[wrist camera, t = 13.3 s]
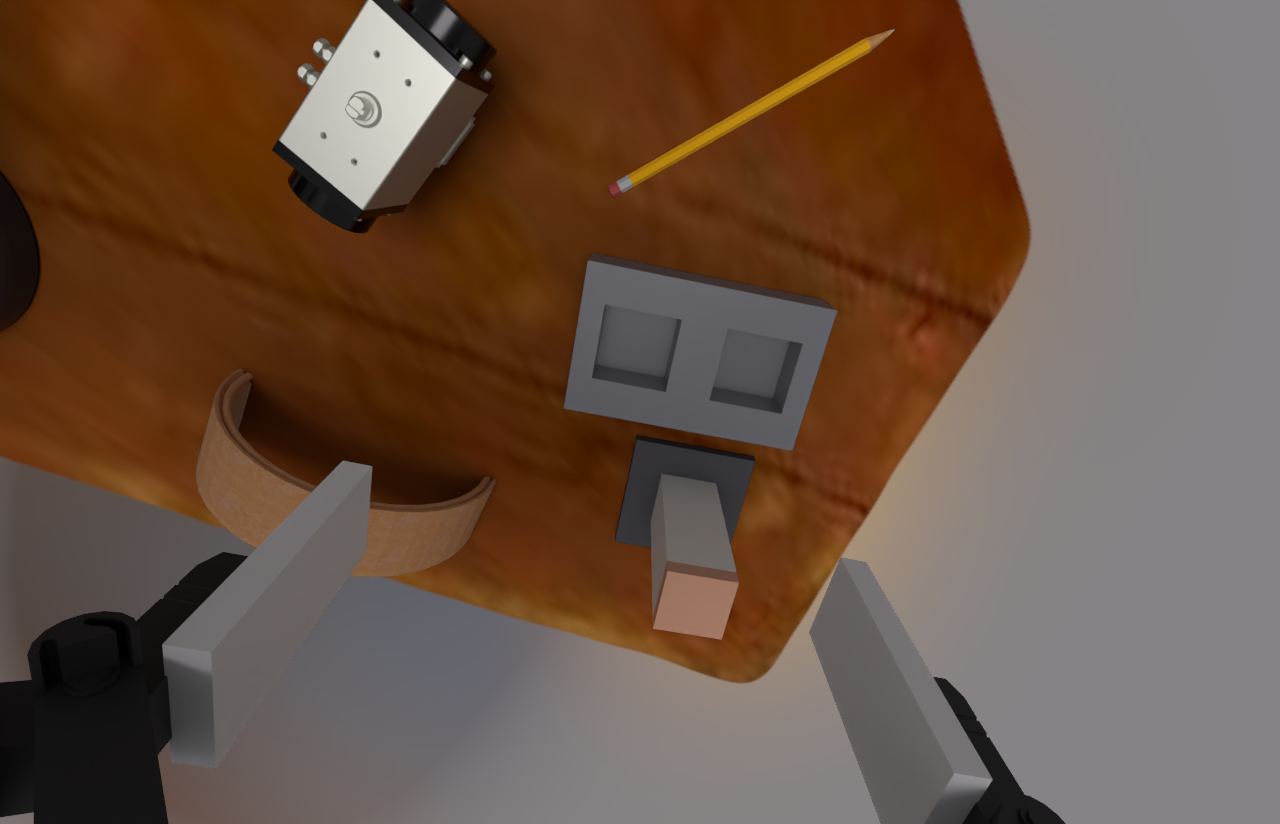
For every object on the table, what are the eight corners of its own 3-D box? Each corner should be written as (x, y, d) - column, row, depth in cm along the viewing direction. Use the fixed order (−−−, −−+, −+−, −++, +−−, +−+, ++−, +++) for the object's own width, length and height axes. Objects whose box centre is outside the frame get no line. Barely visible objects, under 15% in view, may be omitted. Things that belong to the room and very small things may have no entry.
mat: (615, 535, 49) (615, 541, 48) (637, 435, 46) (637, 439, 45) (724, 554, 50) (725, 560, 49) (753, 456, 46) (755, 461, 46)
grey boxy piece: (569, 391, 44) (563, 408, 41) (592, 252, 41) (588, 260, 38) (781, 430, 46) (792, 450, 42) (822, 299, 42) (837, 310, 39)
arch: (241, 365, 44) (134, 417, 35) (498, 479, 47) (462, 554, 38) (222, 430, 46) (116, 496, 37) (470, 535, 49) (430, 620, 40)
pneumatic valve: (527, 75, 37) (477, 35, 26) (416, 224, 40) (329, 245, 29) (453, 3, 36) (366, -73, 24) (344, 162, 39) (224, 160, 28)
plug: (650, 520, 48) (652, 628, 36) (661, 473, 46) (667, 571, 35) (703, 529, 48) (721, 639, 37) (716, 483, 46) (738, 582, 35)
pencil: (607, 186, 40) (607, 186, 39) (890, 23, 36) (895, 21, 36) (613, 197, 40) (613, 198, 39) (895, 37, 36) (899, 35, 36)
